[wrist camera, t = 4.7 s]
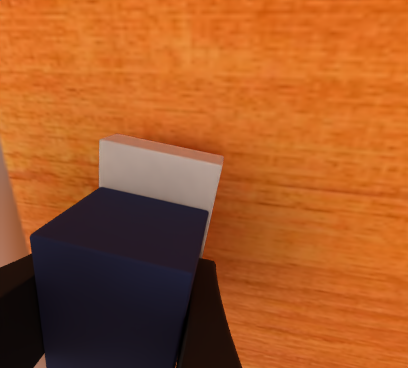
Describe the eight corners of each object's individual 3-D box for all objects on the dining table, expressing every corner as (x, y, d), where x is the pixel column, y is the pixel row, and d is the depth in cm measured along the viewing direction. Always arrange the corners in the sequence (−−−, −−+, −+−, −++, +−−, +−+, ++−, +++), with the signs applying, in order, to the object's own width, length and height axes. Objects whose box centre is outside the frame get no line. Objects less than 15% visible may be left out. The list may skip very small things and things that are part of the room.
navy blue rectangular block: (186, 327, 12) (160, 444, 8) (110, 308, 12) (48, 412, 8) (224, 155, 8) (213, 211, 4) (116, 132, 8) (13, 166, 5)
